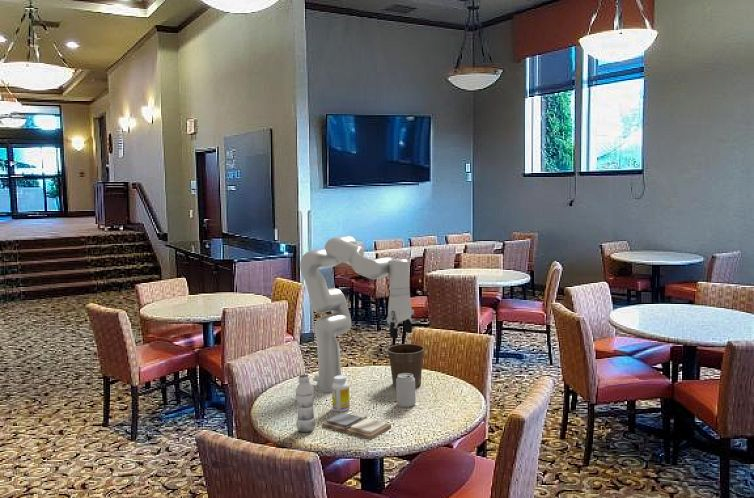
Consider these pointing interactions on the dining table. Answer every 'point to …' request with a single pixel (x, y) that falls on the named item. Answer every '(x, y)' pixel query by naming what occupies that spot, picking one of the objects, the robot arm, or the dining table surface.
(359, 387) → the dining table surface
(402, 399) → the can
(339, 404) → the supplement bottle
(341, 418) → the makeup compact
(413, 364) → the plant pot
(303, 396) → the plastic bottle
